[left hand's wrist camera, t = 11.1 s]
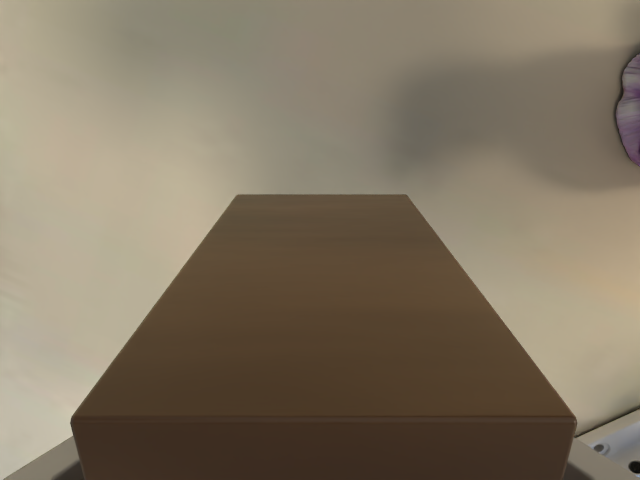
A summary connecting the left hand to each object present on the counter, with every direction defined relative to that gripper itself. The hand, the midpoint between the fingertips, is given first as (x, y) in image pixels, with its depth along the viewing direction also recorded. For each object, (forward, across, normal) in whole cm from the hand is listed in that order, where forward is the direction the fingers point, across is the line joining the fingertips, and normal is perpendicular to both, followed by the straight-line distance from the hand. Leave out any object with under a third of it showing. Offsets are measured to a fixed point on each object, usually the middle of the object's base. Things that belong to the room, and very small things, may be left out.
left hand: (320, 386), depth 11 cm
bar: (+4, 0, +8) cm, 9 cm away
